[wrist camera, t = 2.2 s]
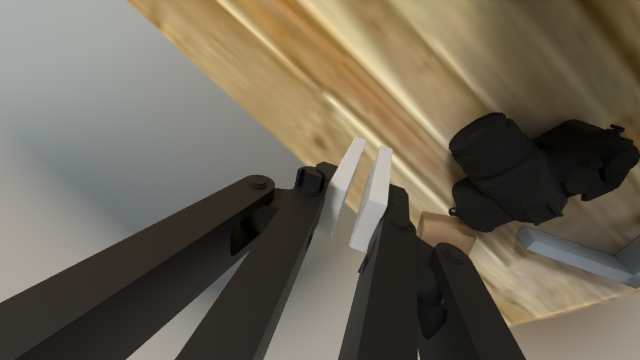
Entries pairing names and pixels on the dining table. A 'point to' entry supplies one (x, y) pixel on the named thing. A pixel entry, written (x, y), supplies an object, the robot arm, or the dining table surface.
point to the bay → (586, 256)
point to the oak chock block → (445, 231)
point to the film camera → (534, 169)
